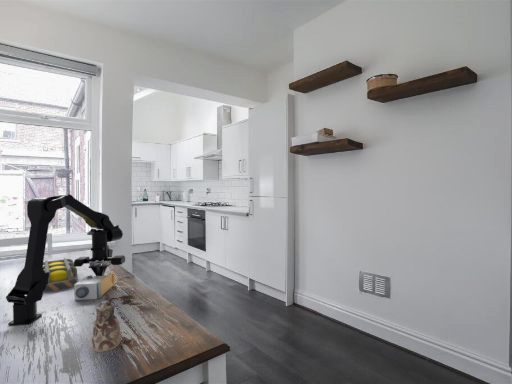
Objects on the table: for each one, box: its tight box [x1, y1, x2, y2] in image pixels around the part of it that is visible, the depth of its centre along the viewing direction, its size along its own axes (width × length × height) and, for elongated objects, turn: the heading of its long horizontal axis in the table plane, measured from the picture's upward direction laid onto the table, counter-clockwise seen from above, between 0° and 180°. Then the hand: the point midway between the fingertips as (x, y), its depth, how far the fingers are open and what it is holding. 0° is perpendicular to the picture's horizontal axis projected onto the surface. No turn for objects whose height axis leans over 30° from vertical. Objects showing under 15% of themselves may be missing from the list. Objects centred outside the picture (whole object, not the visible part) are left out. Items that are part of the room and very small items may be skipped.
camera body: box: [73, 274, 107, 301], centre depth 118 cm, size 12×8×7 cm, turn 6°
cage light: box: [43, 257, 79, 292], centre depth 136 cm, size 15×8×30 cm
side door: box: [97, 271, 116, 299], centre depth 121 cm, size 15×1×6 cm, turn 6°
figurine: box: [91, 297, 122, 353], centre depth 81 cm, size 7×7×12 cm
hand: (100, 281), depth 125 cm, fingers closed
